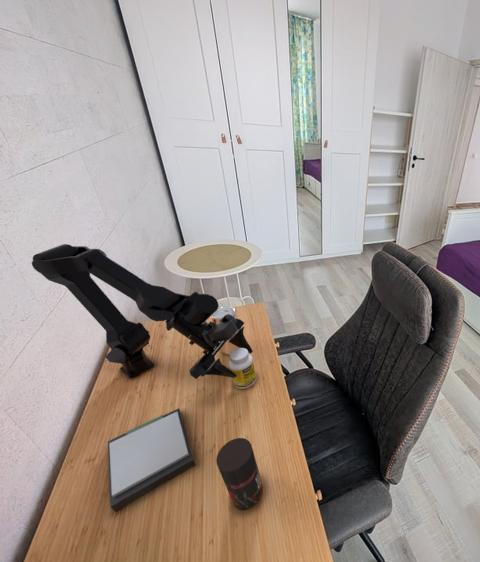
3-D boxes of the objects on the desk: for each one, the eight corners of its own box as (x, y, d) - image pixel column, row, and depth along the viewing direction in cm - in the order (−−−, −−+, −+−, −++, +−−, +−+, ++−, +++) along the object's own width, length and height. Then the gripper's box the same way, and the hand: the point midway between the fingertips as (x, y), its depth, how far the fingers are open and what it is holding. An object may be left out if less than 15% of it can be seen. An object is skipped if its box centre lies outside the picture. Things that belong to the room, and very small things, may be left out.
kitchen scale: (111, 446, 65) (106, 439, 64) (181, 413, 73) (178, 406, 72) (114, 512, 55) (108, 505, 53) (195, 464, 63) (192, 457, 62)
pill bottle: (249, 391, 80) (242, 364, 75) (229, 387, 81) (221, 359, 76) (260, 375, 86) (255, 348, 80) (242, 371, 86) (235, 344, 81)
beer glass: (235, 338, 98) (227, 303, 91) (247, 347, 95) (239, 311, 88) (216, 349, 93) (205, 312, 86) (228, 359, 90) (217, 322, 83)
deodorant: (264, 502, 58) (252, 463, 50) (232, 515, 56) (215, 476, 48) (262, 473, 62) (251, 433, 55) (232, 484, 60) (217, 444, 53)
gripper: (187, 339, 63) (243, 378, 68) (231, 294, 80) (274, 329, 85) (165, 360, 68) (219, 396, 73) (211, 314, 84) (253, 346, 89)
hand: (244, 364), depth 80 cm, fingers open, 9 cm apart
